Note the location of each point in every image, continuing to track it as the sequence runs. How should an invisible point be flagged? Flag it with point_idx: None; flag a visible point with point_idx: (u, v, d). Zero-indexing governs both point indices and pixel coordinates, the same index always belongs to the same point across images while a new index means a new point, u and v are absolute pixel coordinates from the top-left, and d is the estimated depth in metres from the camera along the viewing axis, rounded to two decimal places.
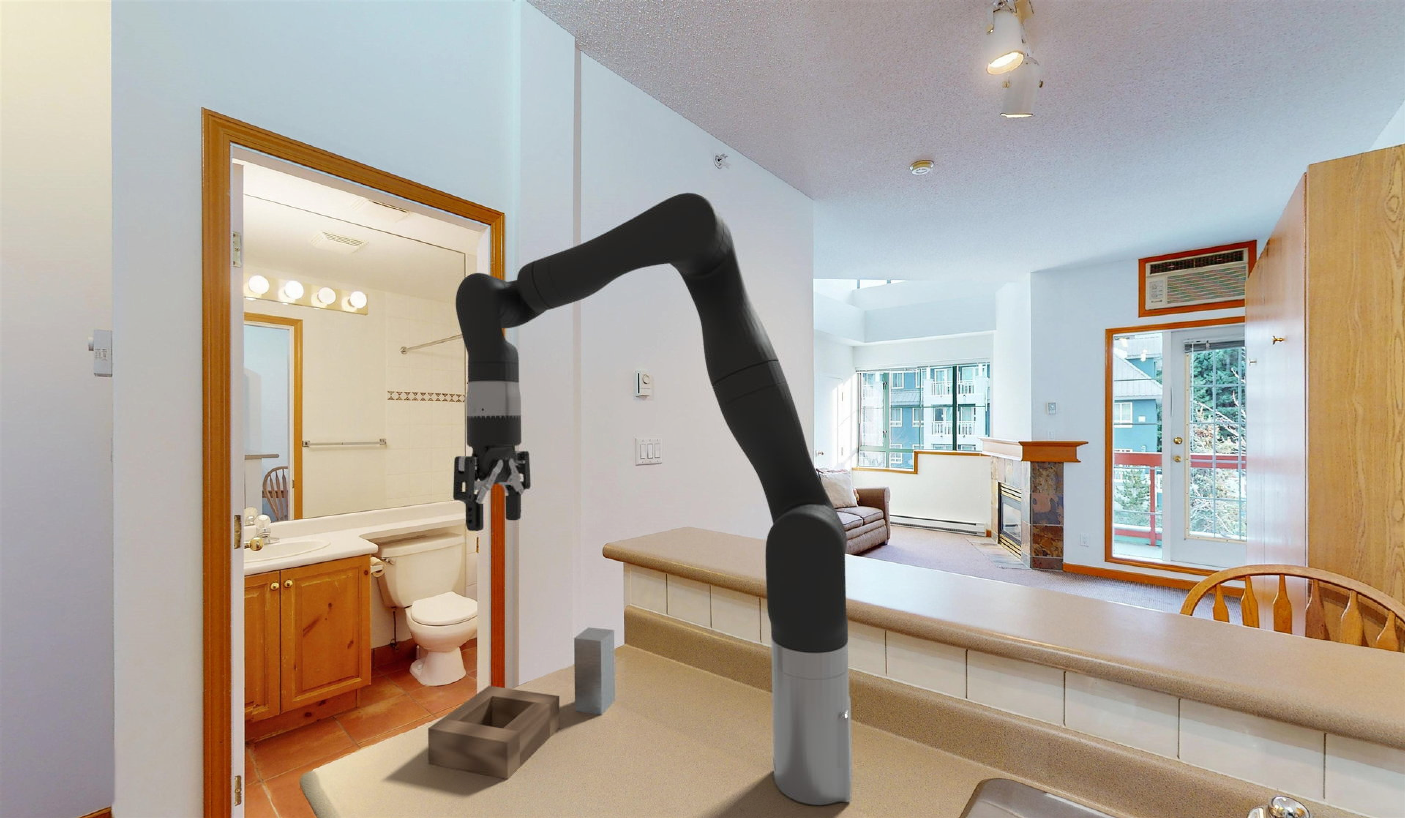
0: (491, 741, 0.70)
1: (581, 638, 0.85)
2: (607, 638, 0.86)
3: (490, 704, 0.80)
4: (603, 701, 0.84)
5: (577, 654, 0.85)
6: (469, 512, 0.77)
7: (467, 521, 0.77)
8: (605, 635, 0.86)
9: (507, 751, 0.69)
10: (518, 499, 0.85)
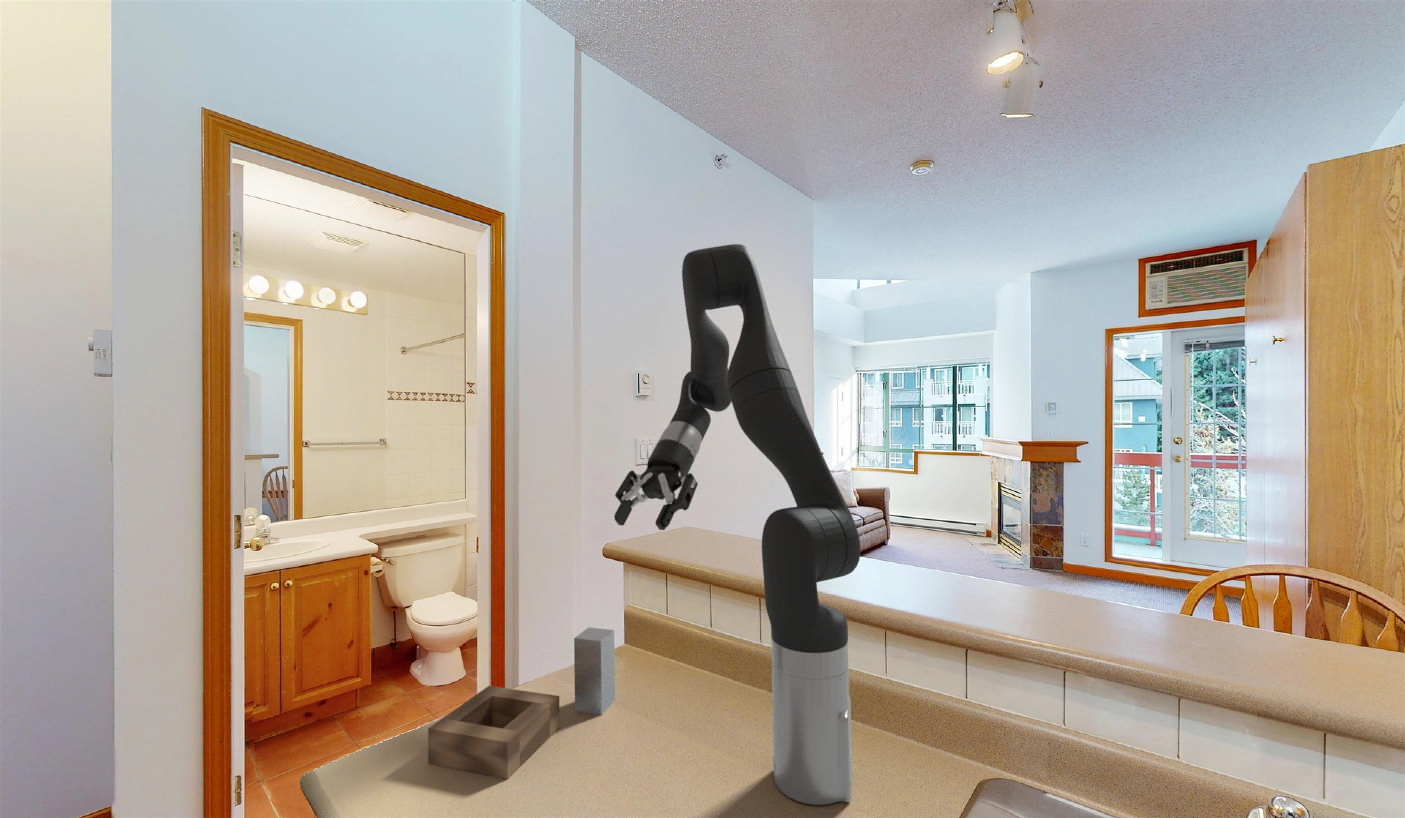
0: (491, 741, 0.70)
1: (581, 638, 0.85)
2: (607, 638, 0.86)
3: (490, 704, 0.80)
4: (603, 701, 0.84)
5: (577, 654, 0.85)
6: None
7: None
8: (605, 635, 0.86)
9: (507, 751, 0.69)
10: (663, 507, 0.92)
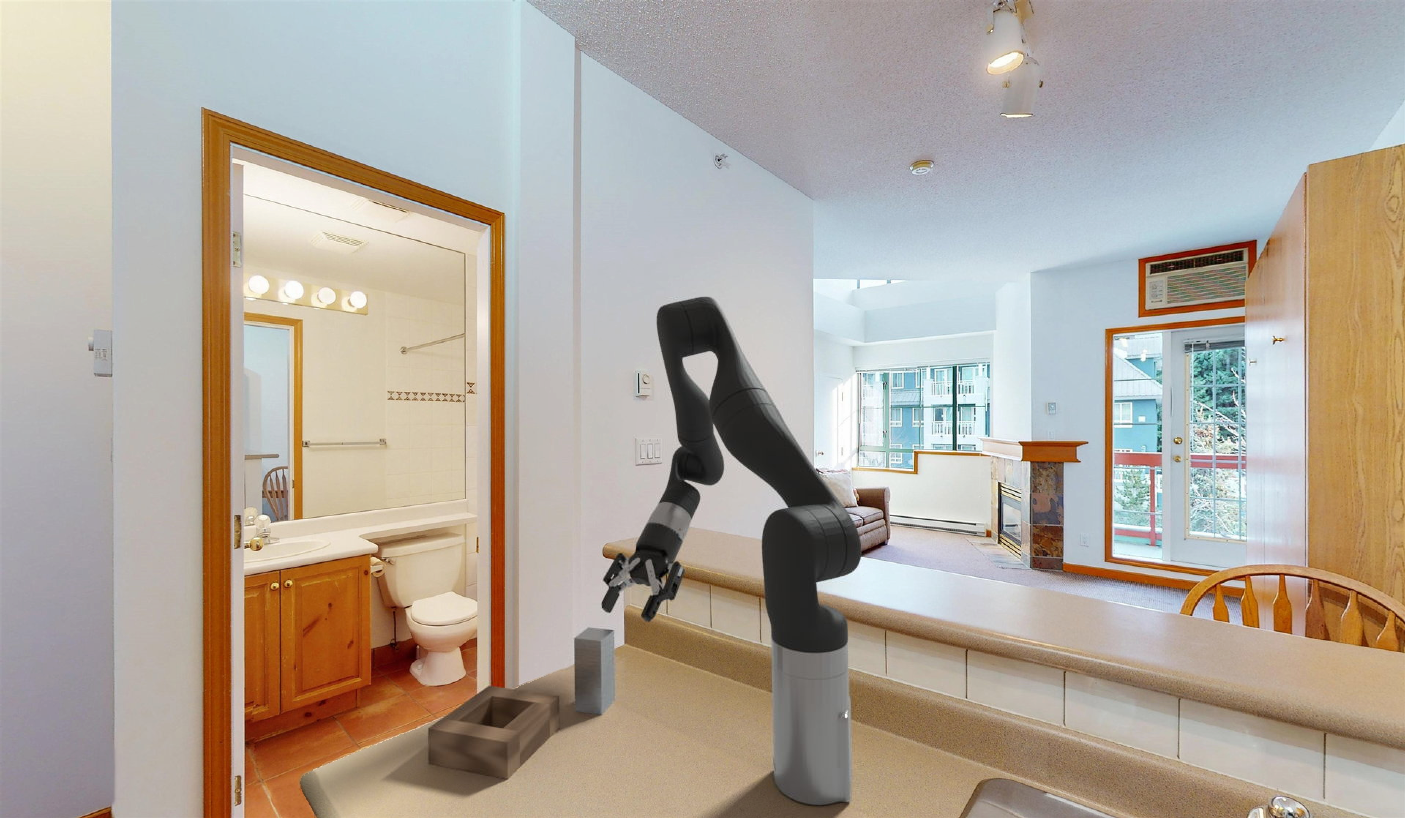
0: (491, 741, 0.70)
1: (581, 638, 0.85)
2: (607, 638, 0.86)
3: (490, 704, 0.80)
4: (603, 701, 0.84)
5: (577, 654, 0.85)
6: None
7: None
8: (605, 635, 0.86)
9: (507, 751, 0.69)
10: (649, 598, 0.92)
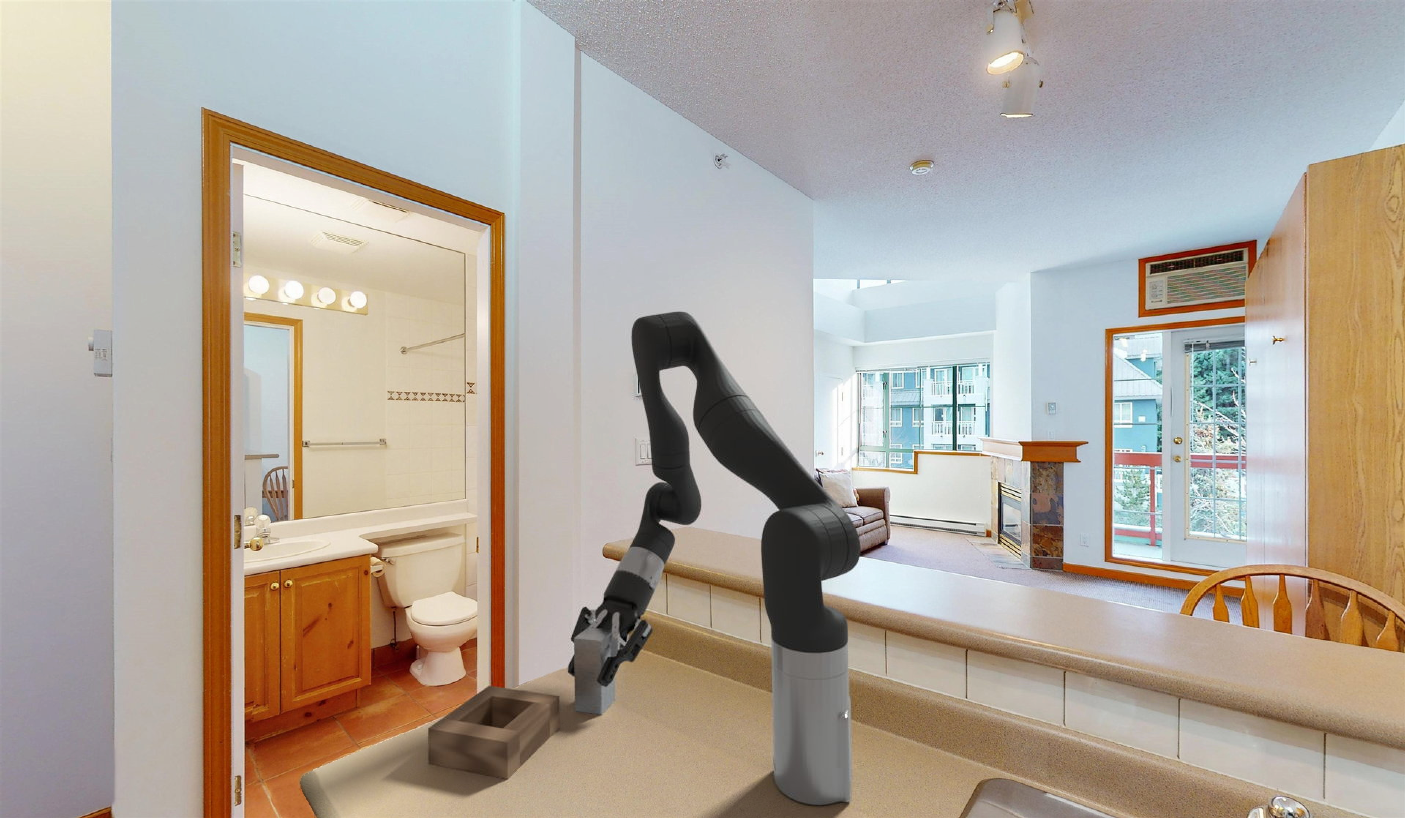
0: (491, 741, 0.70)
1: (581, 638, 0.85)
2: (607, 638, 0.86)
3: (490, 704, 0.80)
4: (603, 701, 0.84)
5: (577, 654, 0.85)
6: None
7: None
8: (605, 635, 0.86)
9: (507, 751, 0.69)
10: (607, 660, 0.85)
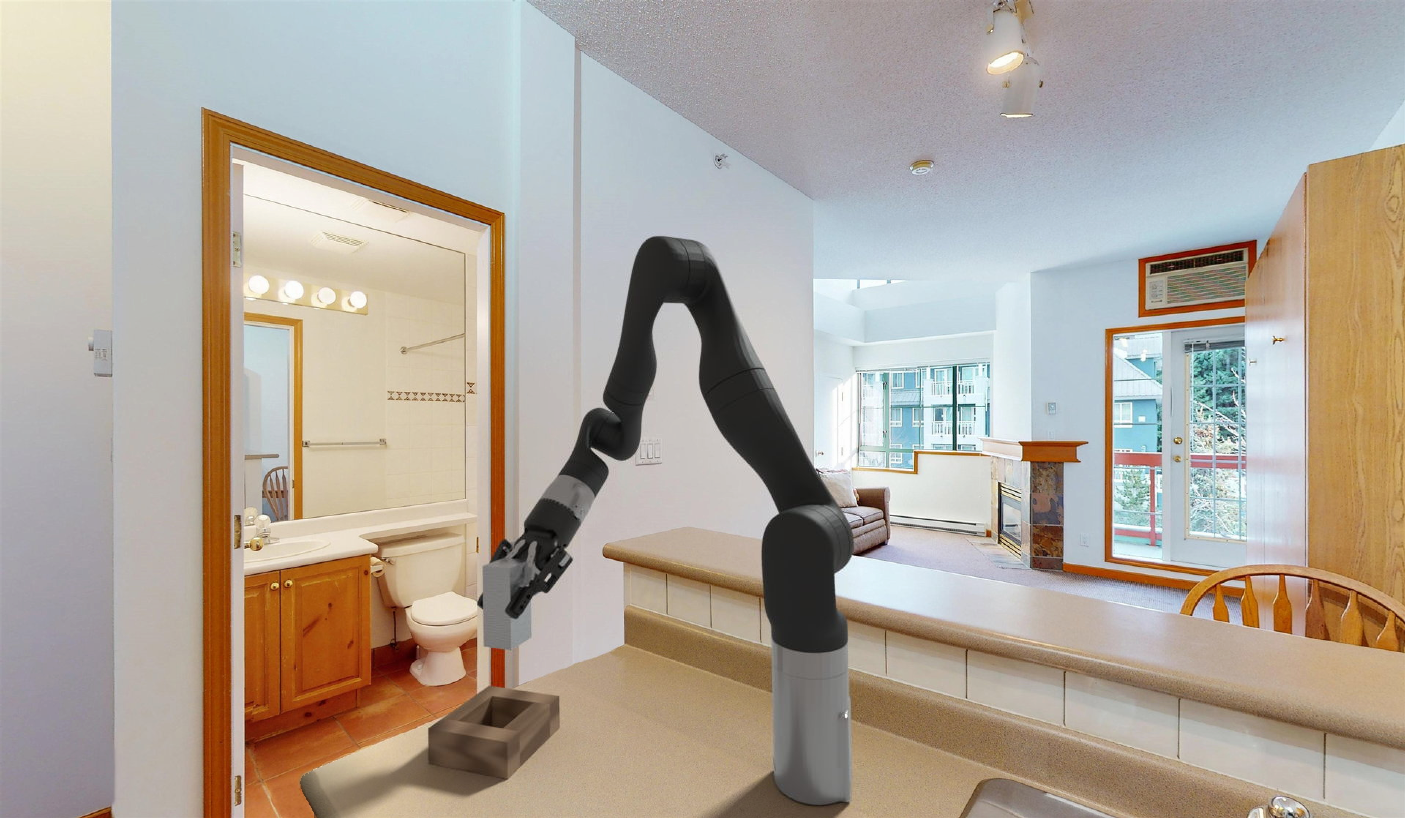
0: (491, 741, 0.70)
1: (490, 566, 0.77)
2: (519, 567, 0.77)
3: (490, 704, 0.80)
4: (514, 635, 0.76)
5: (485, 583, 0.77)
6: None
7: None
8: (518, 563, 0.78)
9: (507, 751, 0.69)
10: (518, 590, 0.76)
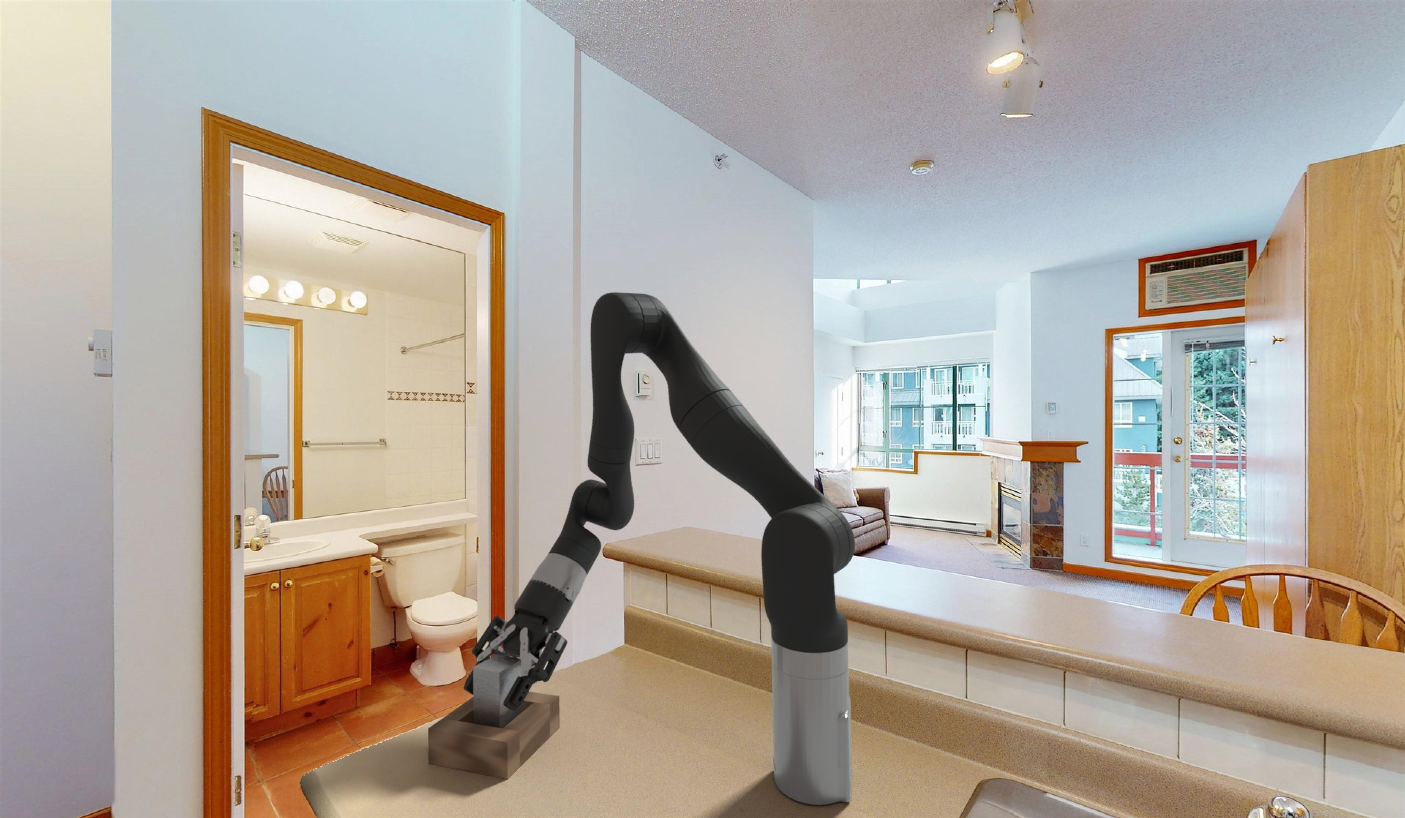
0: (491, 741, 0.70)
1: (480, 668, 0.75)
2: (510, 668, 0.76)
3: None
4: None
5: (476, 686, 0.75)
6: None
7: None
8: (508, 665, 0.76)
9: (507, 751, 0.69)
10: (517, 680, 0.75)
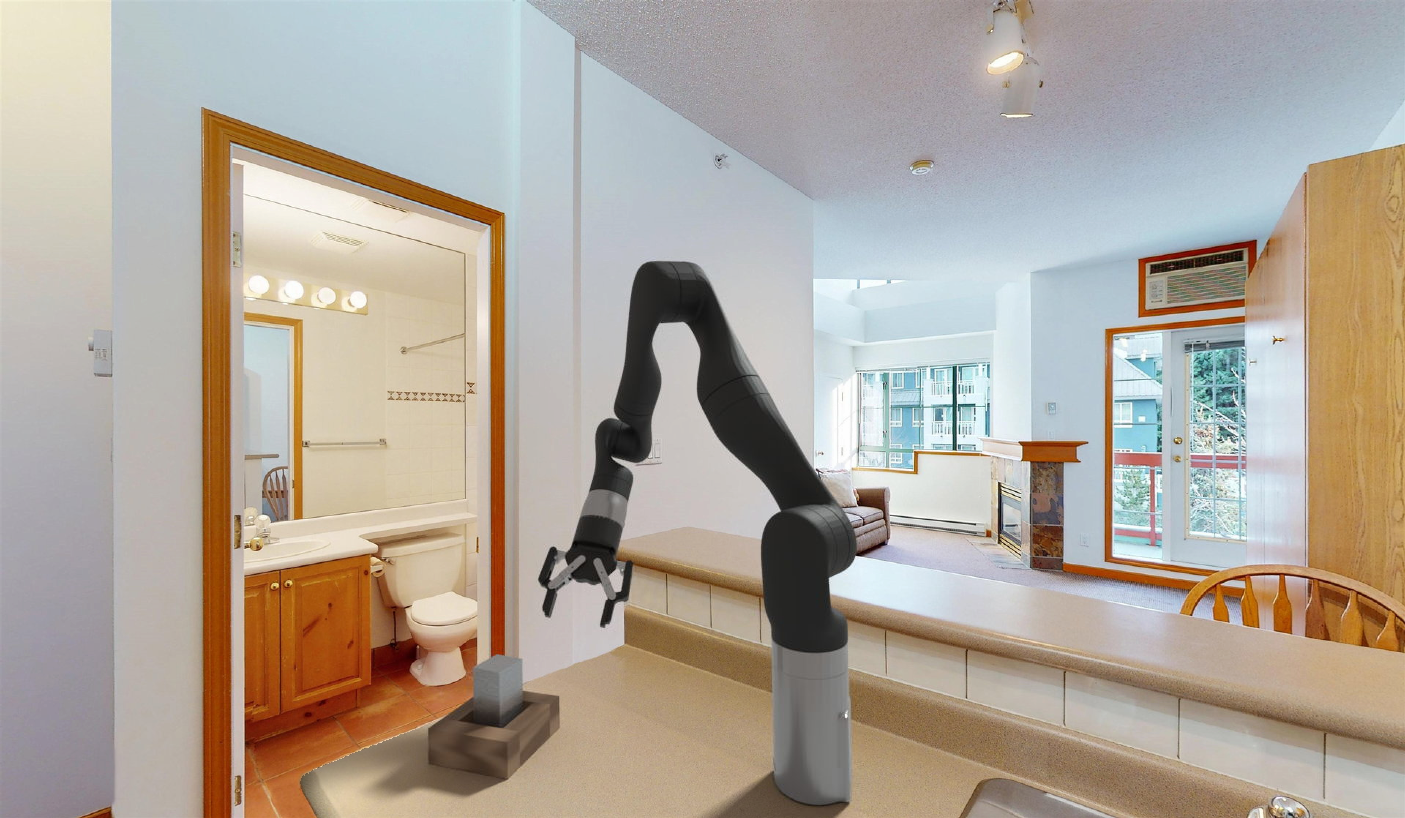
0: (491, 741, 0.70)
1: (480, 668, 0.75)
2: (510, 668, 0.76)
3: None
4: None
5: (476, 686, 0.75)
6: None
7: None
8: (508, 665, 0.76)
9: (507, 751, 0.69)
10: (606, 603, 0.86)
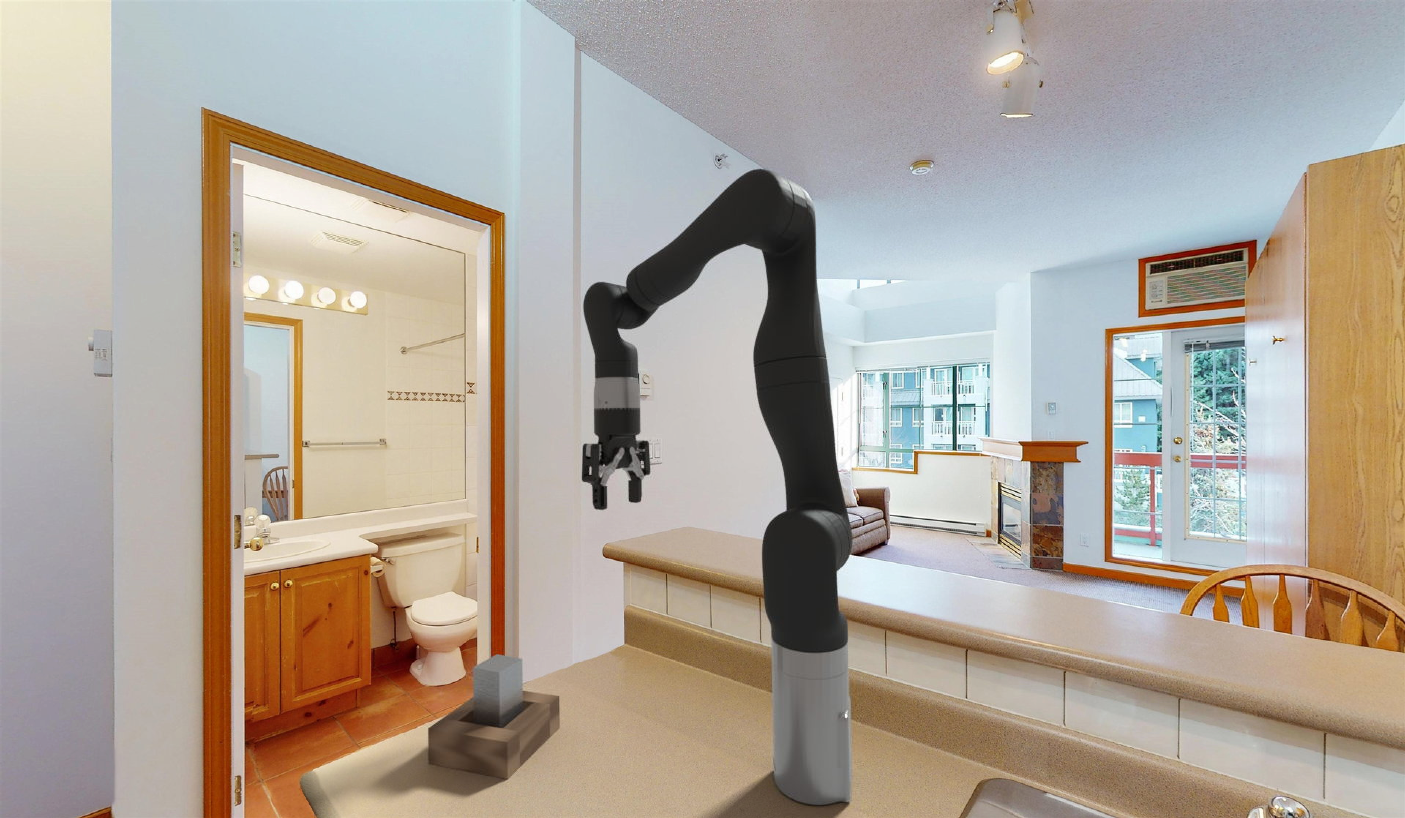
0: (491, 741, 0.70)
1: (480, 668, 0.75)
2: (510, 668, 0.76)
3: None
4: None
5: (476, 686, 0.75)
6: (595, 493, 0.87)
7: (593, 501, 0.87)
8: (508, 665, 0.76)
9: (507, 751, 0.69)
10: (639, 484, 0.94)
